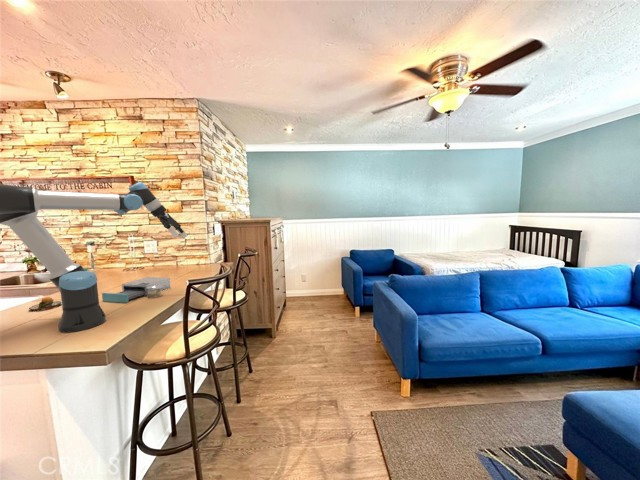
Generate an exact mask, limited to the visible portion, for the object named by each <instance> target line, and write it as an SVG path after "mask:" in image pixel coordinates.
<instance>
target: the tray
mask: <svg viewBox="0 0 640 480" xmlns="http://www.w3.org/2000/svg"><path fill="white" fill-rule="evenodd" d="M144 294H145V289H129V290H125V291H122V290H121V291H120V292H119V291H118V292H116V293H115V292H102V293H101V298H102V302H107V303H108V302H109V303H110V302H111V303H112V302H113V303H123V304H124V303H126V304H127V303H129V300H132V299H135V298H138V297H142V296H141V295H144Z"/></svg>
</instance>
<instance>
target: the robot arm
mask: <svg viewBox="0 0 640 480" xmlns="http://www.w3.org/2000/svg"><path fill="white" fill-rule="evenodd" d="M128 190H129V192H128V193H126V194H118V193H104V192H103V193H101V192H98V193H97V192H82V191H79V192H77V191H60V190H41V189H36V187H34V186H33V187H31V186H21V185H20V186H19V185H10V184H4V183H3V184H2V183H0V225H3V226H7V227H9V228H10V229H11V230H12V231H13V233H15V235H16V236H17V237H18V239H20V241H21V242H22V243H23V244H24V245H25V246H26V247H27V249H28V250H29V251H30V252H31V253H32V254H33V255H34V256H35V258H36V259H37V260H38V261H39V262H40V263H41V264H42V266H43V267H44V268H45V269H46V270H47V271H48V272H49V276H48V279H49V280H50V281H51V282H52V284H53V285H54V286H55V287H56V289H58V290H59V292H60V298H61V299H60V301H61V304H62V305H61V308H62V313H61V317H60V319H59V322H58V325H57V326H58V331H59V332H60V333H74V332H80V331H86V330H89V329H91V328H95V327H97V326H99V325H101V324H103V323H105V322H106V321H107V319H106V318H107V317H106V314H105V312H104V311H103V309H102V307H101V305H100V299H99V298H100V297H99V289H98V277H97V274H96V273H95V272H94V271H90V270H88V271H85V269H84V268H85V267H83V265H81V264H80V263H75V262H74V261H73V260H72V259H71V258H70V256H69V255H68V254H67V252H66V251H64V249H63V248H62V247H61V246H60V244H59V243H58V242H57V240H55V238H54V237H53V235H52V234H51V233H50V232H49V231H48V229H47V228H46V227H45V226H44V225H43V223H42V222H41V221H40V220H39V219H38V217H37V216H38V213H39V211H40V210H71V211H72V210H74V211H76V210H78V211H79V210H84V211H85V210H86V211H87V210H88V211H89V210H90V211H91V210H92V211H93V210H94V211H95V210H98V211H99V210H100V211H105V210H107V211H114V212H116V213H117V214H118V215H120V216H121V215H122V216H123V215H124V214H127V213H128V212H130V211H138V210H139V209H141V208H142V207H145V209H146V210H147V211H148V212H150V214H151V215H152V216H153V217H154V218H157V219H158V221H160V223H161V224H162V225H163V228H165V229H167V230H168V231H169V233H171V235H173V237H174V238H177V237H178V236H179V235H180V236H181V237H182V238H183V239H186V237H187V236H188V234H187V233H186V231H185V230H184V229H183V228H182V227H181V226H182V225H181V224H180V223H179V222H178V221H177V220H176V219H174V218H173V217H172V216H171V215H170V214H169V213H166V211H167V209H166V207H165V206H164V205H163V204H162V203H161V202H160V199H159V198H157V197H156V196H155V195H154V194H153V192H152V191H151V190H150V188H149V187H147V186H146V185H145V184H144V182H142V181H139V182H136V183H134V184H132V185H131V186H130V187H128Z"/></svg>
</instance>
